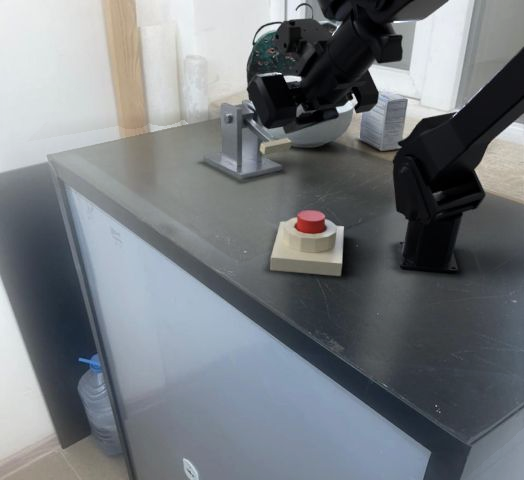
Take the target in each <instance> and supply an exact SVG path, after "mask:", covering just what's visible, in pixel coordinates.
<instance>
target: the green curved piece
mask: <svg viewBox="0 0 524 480" xmlns="http://www.w3.org/2000/svg"><path fill="white" fill-rule="evenodd" d="M302 6H308V7H309V8H310V10H311V13H312V15H311V17H309V18H310V19H314V8H313V6H312V5H311V4H309V3H307V2H302V3H300V4H298V5H297V6H296V7H295V9H294V10H295V12H297V11H298V9H299V8H300V7H302ZM282 22H283V21H280V20H279V21H270V22H267V23H264V24H262V25H261V26H260V27H259V28H258V29H257V30H256V32H255V33H254V36H253V39H252V42H251V43H252V44H251V45H252V49H251V51H250V53H249V56H248V59H247V62H246V70H245V71H246V83H247V86H248V84H249V83H250V81H251V79H252V78H253V76H254V75H258V74H266V73H275V72H277V73H281V74H283V76H284V77H297V78H300V76H299V77H298V76H297V75H296V73H295V70H294V67H295V65H296V64H297V62H296V61H295V60H294V59H293V58H292V57H291V56H290V54H283V53H282V52H281V51H280V49H279V48H278V47H277V46H276V45H275V42H274V38H275V34H276V31H277V29H271V30H269V31H266V32H265V33H263V34H262V35H261V36H259V37H258V38H257V36H258V34H259V33H260V32H261V31H262V29H264V28H266V27H268V26H274V25H281V24H282ZM318 22H319V23H320V24H321V25H322V26H323V27H324V28H325V29H326V30H327V31H328V32H329V33H330V34H331V36H332V35H333V33H334V32H335V31H336V29H337V28H338V27H339V25H338V21H336V20H329V19H327V20H322V21H321V20H320V21H318ZM256 38H257V39H256ZM255 40H256V41H255ZM247 86H246V87H247ZM247 95H248V100H249V101H251V98H250V96H249V94H248V93H247Z"/></svg>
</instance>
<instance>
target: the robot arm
mask: <svg viewBox="0 0 524 480" xmlns="http://www.w3.org/2000/svg"><path fill="white" fill-rule="evenodd" d="M316 2H317V4H318V6H319V8H320V11H321V13H322V15H323V18H325V19H326V20H336V21H337V23H338V22H340V23H339V25H338V28H337V29H336V31H335V32H334V33H333V35H332V36H331V34H330V33H329V32H328V31H327V30H326V29H325V28H324V27H323V26H322V25H321V24H320V23H319V22H320V21H318V20H316V19H314V18H313V19H310V18H311V17H309V18H295V19H289V20H283V21H281V22H282V24H279V26H278V28H277V29H276V30H277V31H276V34H275V38H274V42H275V45H276V46H277V47H278V48H279V49H280V51H281V52H282V53H283V54H290V56H291V57H292V58H293V59H294V60H295V61H296V62H297V64H296V65H295V67H294V70H295V73H296V75H297V76H298V77H297V76H296V77H297V78H300V77H301V79H302V80H301V81H300V80H294V81H286V78H285V76H283V74H281V73H277V72H275V73H266V74H258V75H254V76H253V78H252V79H251V81H250V83H249V84H248V86H246V92H247V95H248V94H249V96H250V98H251V101H252V103H253V105H254V107H255V109H256V112H257V114H258V116H259V118H260V121H261V123H262V125H263V126H264V127H265V128H267V129H274V128H279V127H283V130H284V132H285V134H289V133H293V132H296V131H299V130H302V129H305V128H308V127H311V126H314V125H317V124H320V123H324V122H327V121H330V120H333V119H337V118H338V117H339V113H338V111H337V109H336V107H340V106H344V105H345V104H346V103H347V102H348V101H349V102H351V101H353V100H354V99H355V100H356V102H357V103H356V104H355V105H353V107H354V109H353V111H354V112H355V114H362V112H368V111H370V110H371V109H372V108H373V107H374V106H375V105H376V104H377V103H378V97H379V92H378V90H379V89H378V88H377V85H376V83H375V81H374V79H373V77H372V75H371V71H370V68H371V67H372V66H373V65H374V63H377V64H379V65H380V64H390V63H399V62H401V61H402V60H403V53H404V50H403V46H402V43H403V38H404V35H403V34H401V33H399V34H397V33H396V31H395V29H394V27H393V24H397V23H408V22H410V23H411V22H419V21H424V20H425V19H427V18H428V17H429V16H431V15H432V14H434V13H435V12H436V11H437V10H439V9H440V8H441V7H443V6H445V5H446V4H447V3H448V2H450V0H316ZM299 76H300V77H299ZM522 115H524V46H522V47H521V49H520V50H519V51H517V52H516V53H515V55H513V56H512V57H511V58H510V59H509V60H508V61H507V62H506V63H505V64H504V65H503V66H502V67H501V68H500V69H499V70H498V71H497V72H496V73H495V74H494V75H493V76H492V77H491V78H490V79H489V80H488V81H487V82H486V83H485V84H484V85H483V86H482V87H481V88H480V89H479V90H478V91H477V92H476V93H475V94H474V95H473V96H471V98H470V99H469V100H468V101H467V102H466V103H465V104H464V105H463V106H462V107H461V108H460V109H459V110H458V111H453V112H452V111H451V112H448V113H442V114H438V115H437V114H436V115H433V116H427V117H423V118H421V119H420V120H419V121H418V123H416V125H415V126H414V128H412V130H411V132H410V133H409V135H407V136H406V137H405V138H404V139H402V141H399V142H398V145H399V146H401V148H399V149H397V151H396V153H395V154H394V156H393V158H392V161H391V163H392V181H393V189H394V190H393V191H394V200H395V210H396V212H397V213H399V214H401V215H403V216H404V219H405V220H406V221H408V222H407V226H406V232H405V237H404V241H398V242H397V244H396V248H397V256H398V264H399V268H400V269H402V270H407V271H408V270H409V271H419V272H431V273H442V274H457V273H458V270H459V267H458V265H457V261H456V258H455V255H454V251H455V246H456V243H457V238H458V235H459V231H460V228H461V223H462V221H463V220H462V219H463V216H464V213H465V212H469V211H473V210H477V209H478V208H479V206H480V205H481V203H482V202H483V201H484V200H485V197H486V191H485V189H484V187H483V185H482V183H481V180H480V178H479V177H478V174H477V172H476V168H477V167H478V166H479V165H480V164H481V162H482V161H483V158H484V156H485V154H486V152H487V149H488V147H489V145H490V144H491V143H492V141H493V140H495V139H496V138H497V137H498V136H499V135H501V133H503V132H504V131H505V130H506V129H507V128H508V127H510V126H511V125H512V124H513V123H515V122H516V121H517V120H518V119H519V118H520V117H522Z"/></svg>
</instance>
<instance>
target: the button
mask: <svg viewBox="0 0 524 480" xmlns="http://www.w3.org/2000/svg"><path fill="white" fill-rule="evenodd" d="M325 219H326V215H325V214H324V213H323V212H321V211H318V210H312V209H309V210H308V209H306V210H301V211H300V212H298V213H297V230H298V231H299V232H302V233H307V234H317V233H322V232H323V231H324V225H325Z"/></svg>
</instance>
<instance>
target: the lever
mask: <svg viewBox="0 0 524 480" xmlns="http://www.w3.org/2000/svg"><path fill="white" fill-rule="evenodd" d="M233 105H234V104H233ZM234 106H236V107H239V108H242V129H244V128H249V129H250V130H251V131H252V132H253V133H254V134H255V135H256V136H258V137H259V138H260V139H261V140H262V143H261V146H260V151H261V152H262V155H269V154H273V153H278V152H283V151H287V150H290V149H291V147H292V146H291V143H292V142H291V141H290V140H289V139H288V138H284V139H276V138H274V137H273V136H271V135H270V134H269V133H267V131H266V130H265V129H264V128H262V127H260V126H259V125H258V124H257V123H256V122H255V121H254V120H253V114H254V112H253V111H251V110H250V109H249V108H248V107H247V106H245V105H244V104H242V103H241V104H235V105H234Z"/></svg>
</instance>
